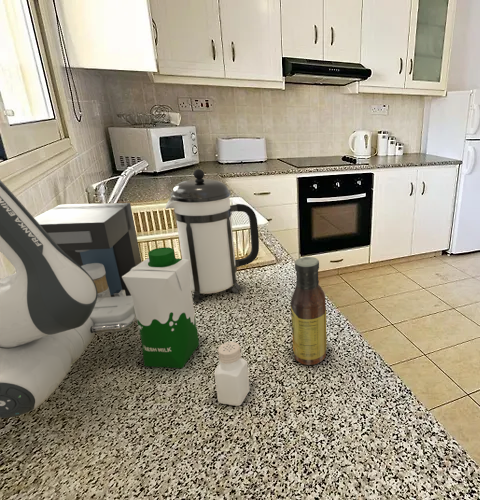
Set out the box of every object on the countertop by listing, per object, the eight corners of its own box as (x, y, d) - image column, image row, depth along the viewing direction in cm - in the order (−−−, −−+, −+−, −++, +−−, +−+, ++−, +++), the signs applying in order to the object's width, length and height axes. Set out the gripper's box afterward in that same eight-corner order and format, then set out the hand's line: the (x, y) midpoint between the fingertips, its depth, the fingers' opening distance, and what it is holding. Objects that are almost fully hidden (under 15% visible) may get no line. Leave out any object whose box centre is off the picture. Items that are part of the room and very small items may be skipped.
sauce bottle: (303, 343, 74) (300, 250, 66) (332, 351, 72) (332, 255, 64) (286, 363, 68) (281, 263, 61) (317, 372, 66) (316, 270, 59)
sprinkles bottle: (101, 319, 80) (86, 261, 75) (122, 319, 80) (108, 262, 75) (86, 331, 76) (70, 271, 71) (108, 332, 76) (93, 272, 71)
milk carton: (205, 341, 73) (192, 247, 66) (184, 372, 65) (166, 268, 58) (162, 339, 74) (143, 245, 66) (135, 370, 65) (111, 266, 58)
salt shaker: (251, 390, 62) (247, 341, 58) (240, 408, 58) (235, 357, 54) (228, 386, 62) (223, 338, 59) (216, 404, 58) (209, 354, 55)
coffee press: (225, 309, 85) (210, 177, 74) (167, 298, 89) (144, 172, 78) (262, 278, 101) (255, 165, 90) (211, 269, 105) (198, 161, 94)
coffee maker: (55, 345, 71) (17, 226, 63) (87, 307, 84) (59, 204, 76) (129, 338, 74) (103, 222, 65) (149, 302, 87) (130, 202, 78)
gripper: (126, 312, 63) (149, 277, 76) (-16, 323, 59) (33, 284, 72) (133, 343, 66) (154, 304, 78) (-3, 355, 62) (42, 312, 74)
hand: (95, 294), depth 75 cm, fingers open, 8 cm apart
